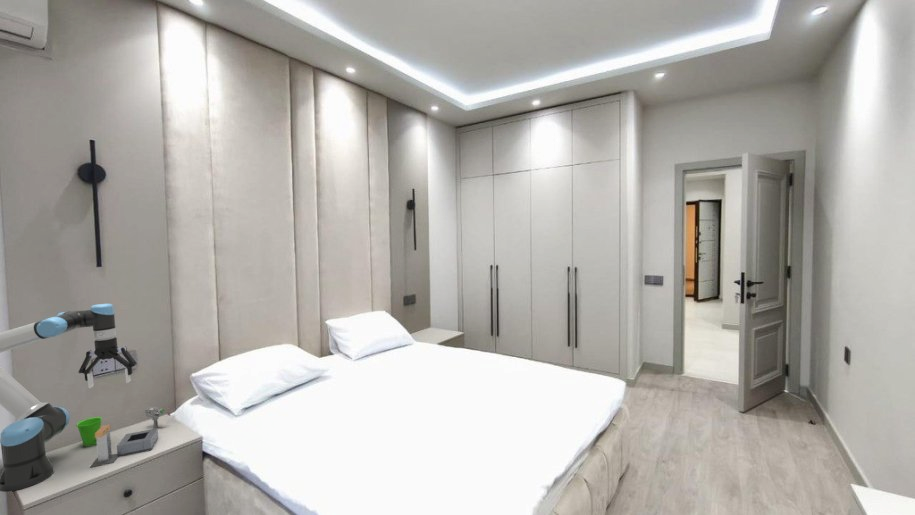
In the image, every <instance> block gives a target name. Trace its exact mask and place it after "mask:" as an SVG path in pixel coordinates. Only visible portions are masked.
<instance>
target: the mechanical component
mask: <svg viewBox="0 0 915 515" xmlns="http://www.w3.org/2000/svg"><path fill="white" fill-rule="evenodd" d="M144 413H145V416H146V417H150V418H152V419H151V420H152V421H153V429H156V428H158V427H159V423H158V421H159V420H158V419H159V418H160V417H162V416H164V415H165V409H164V408H160V409H159V407H154V406H153V407H151V406H150V407H147V408H145V409H144Z"/></svg>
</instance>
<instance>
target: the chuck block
mask: <svg viewBox="0 0 915 515" xmlns="http://www.w3.org/2000/svg"><path fill="white" fill-rule="evenodd" d="M158 439H159V429H158V427H157V428H151V429H146V430H139V431H135V432H130V433H126V434H125V435H124V436H123V438H121V440H120V442H119V443H118V444H117V445H116V451H117V452H116V454H118V458H120V457H124V456H129V455H134V454H139V453H144V452H149V451H152V450H153V448H154V446H155V445H154V444H156V443H157V441H158Z"/></svg>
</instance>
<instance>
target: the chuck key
mask: <svg viewBox="0 0 915 515" xmlns="http://www.w3.org/2000/svg"><path fill="white" fill-rule="evenodd" d="M110 432H111V423H110V424H104V425H103V424H102V425H101V426H100V429H99V430H98V431H97V432H96V433H95V438H96V440H97V444H96V447H97V448H96V452H97V458H98V463H101V462H106V461H109V460H110V459H111V457H112V442H111V441H112V440H111V433H110Z"/></svg>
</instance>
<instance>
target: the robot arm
mask: <svg viewBox="0 0 915 515" xmlns="http://www.w3.org/2000/svg"><path fill="white" fill-rule="evenodd" d="M91 327H92V332H93V340H94V341H93V342H94V349H95V350H92V349H89V350H88V351H86V353H85V358H84V360H83V362H82V364H81V366H80V368H79V369H78V374H83V375H84V380H85V382H87V385H88V386H87V387H88V389H92V388H93V387H94V386H95V384H94V373H93V371H92V370H93V368H95V366H96V365H97V364H98V363H99V362H100V361H101V360H102V361H103V360H110V359H111V360H112V359H114V360H116V361H117V362H119V363H120V364H121V365H123V366H124V367H125V369H124V372H125V376H124V377H125V383H126V384H129V383H130V382H131V381H132V380H131V375H132V374H133V367H135V366H136V365H137V364H138V363H137V361H136V360H135V359H134V357H133V356H132V355H131V354H130V352H129V350H128V348H127V346H126V345H125V346H123V347H118V338H117V328H116V319H115V309H114V305H113V304H112V303H98V304H93V305H91V306H90V309H87V310H72V311H71V310H68V311H64V312H62V311H61V312H59V313H57V315H55V316H51V317H47V318H44V319H42V320H39V321H35V322H32V323H29V324H25V325H22V326H19V327H15V328H11V329H7V330H5V331H1V332H0V353H4V352H8V351H10V350H13V349H16V348H20V347H24V346H27V345H30V344H32V343H36V342H39V341H43V340H46V339H49V338H53V337H57V336H59V335H62V334H64V333H65V334H66V333H67V332H71V331H73V330H76V329H81V328H91ZM118 352H120V353H121V354H122V356H123V357H122V356H121V355H120V354H119V353H118ZM94 355H95V356H96V357H95V359H94V360H93V361H92V362H91V363H90V361H91V358H92V357H93V356H94ZM89 363H90V365H89ZM88 365H89V366H88ZM0 406H1V407H2V408H4V409H5V410H6V411H7V412H8V413H9V414H11V415H12V416H13V417H14V418H15V419H16V420H15V422H13V423H11V424H9V425H7V426H5V428H3V429H2V430H1V433H0V448H1V457H2V464H3V467H2V471H1V474H0V492H3V493H5V492H15V491H18V490H23V489H25V488H29V487H31V486H35V485H37V484H39V483H41V482H43V481H45V480H47V479H49V477H51V476H52V475H53V473H54V472H55V471H54V464H52V462H51V461H50V459H49V458H48V456H47V454H46V453H47V451H46V444H47V442H49V441H51V440H52V439H54V437H56V436H58V435H59V434H61V433H62V432H63V430H65V429H66V428H67V427H68V425H69V423H70V420H71V419H70V418H71V417H70V413H69V411H68V410H67V409H66V408H64V407H61V406H53V405H52V404H51V403H50V402H41V401H40V400H39V399H38V398H36V396H34V395H33V394H32V393H31V392H30V391H28V389H26V388H25V387H24V386H23V385H22V384H21V383H19V381H18V380H16V379H15V378H14V377H13V376H12V375H10V374H9V372H7V371H6V370H5V369H4V368H3V367H1V366H0Z"/></svg>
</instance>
